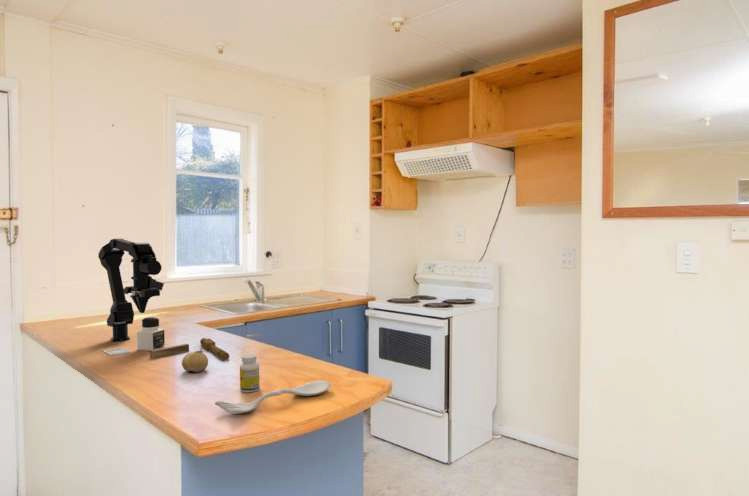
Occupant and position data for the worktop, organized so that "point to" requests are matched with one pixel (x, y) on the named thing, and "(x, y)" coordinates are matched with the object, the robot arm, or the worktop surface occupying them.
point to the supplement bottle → (249, 374)
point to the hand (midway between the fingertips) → (142, 312)
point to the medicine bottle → (150, 335)
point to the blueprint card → (116, 351)
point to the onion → (195, 361)
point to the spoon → (303, 390)
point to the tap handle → (214, 348)
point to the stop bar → (169, 350)
